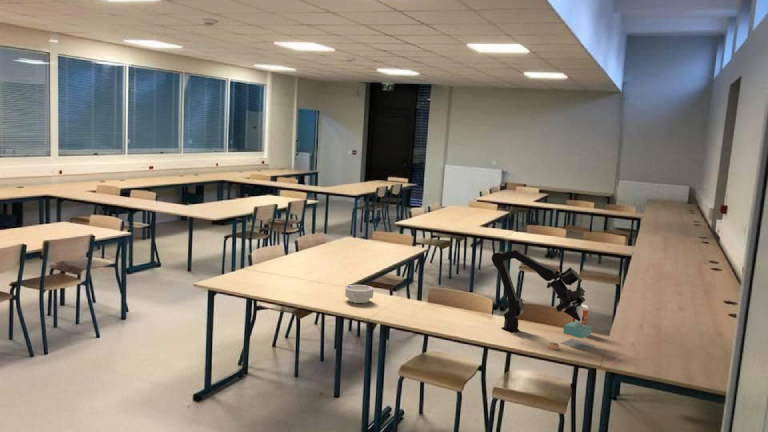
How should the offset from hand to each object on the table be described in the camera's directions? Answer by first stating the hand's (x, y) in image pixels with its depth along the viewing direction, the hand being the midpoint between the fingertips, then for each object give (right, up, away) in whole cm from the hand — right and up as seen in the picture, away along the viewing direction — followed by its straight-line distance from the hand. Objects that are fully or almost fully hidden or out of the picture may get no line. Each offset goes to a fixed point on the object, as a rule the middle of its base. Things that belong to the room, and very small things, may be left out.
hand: (581, 320), depth 282 cm
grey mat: (-1, -12, +3) cm, 12 cm away
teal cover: (-2, -7, +2) cm, 7 cm away
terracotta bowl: (-14, -12, -5) cm, 20 cm away
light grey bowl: (-104, +1, +54) cm, 117 cm away
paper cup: (+5, -10, +22) cm, 25 cm away
